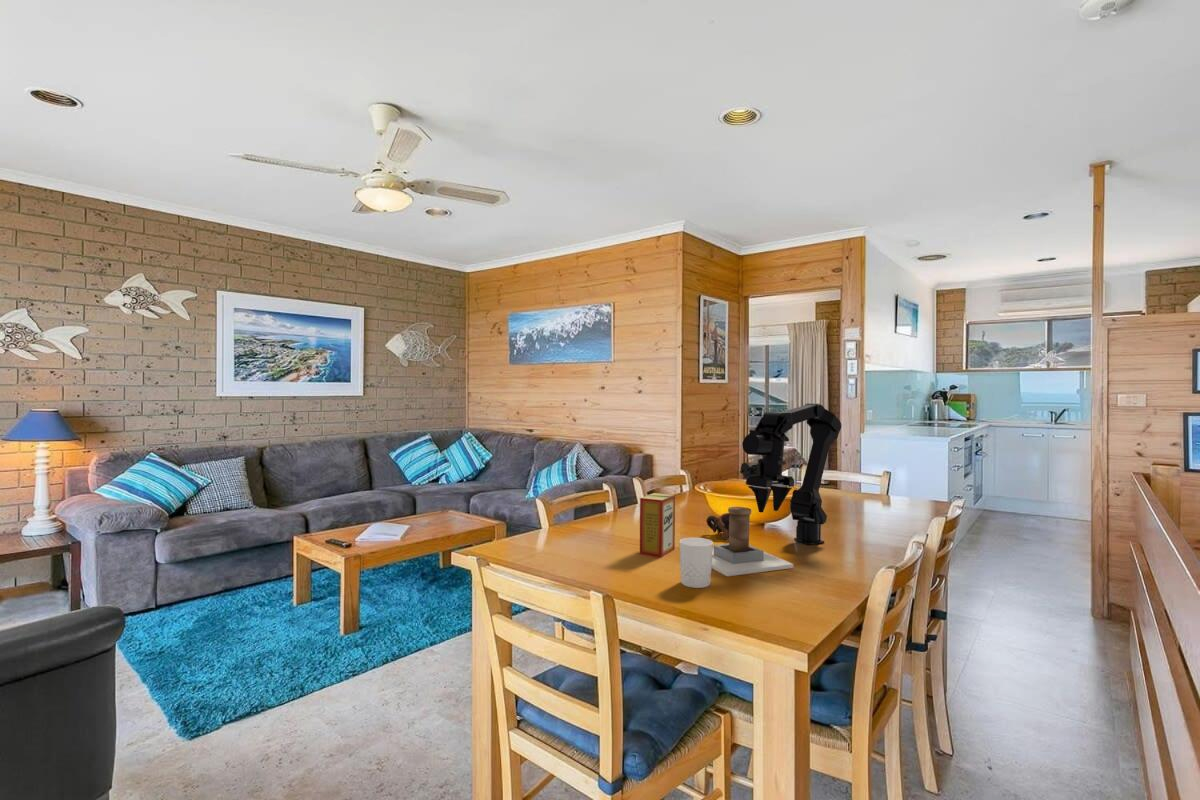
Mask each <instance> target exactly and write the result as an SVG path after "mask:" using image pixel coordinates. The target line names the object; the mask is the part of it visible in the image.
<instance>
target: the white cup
mask: <svg viewBox="0 0 1200 800" xmlns="http://www.w3.org/2000/svg"><path fill="white" fill-rule="evenodd" d="M678 542H679V548H678V549H679V567H680V579H681V580H680V581H681V582H680V583H681V584H682V585H683V586H685V587H687V588H694V589H702V588H708V587H709V586H711V585H710V584H711V574H712V552H713V549H714V542H713V540H711V539H708V538H703V537H684V538H681V539H679V541H678Z"/></svg>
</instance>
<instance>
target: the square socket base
mask: <svg viewBox="0 0 1200 800" xmlns="http://www.w3.org/2000/svg"><path fill="white" fill-rule="evenodd" d="M788 569H794V563H792V562H790V561H788V560H785V559H782V558H780V557H777V556H775V555H772V554H770V553H767V552H766V551H764V550H762V549H760V548H757V547H755V546H752V545H750V544H749V551H747V552H738V553H734V552H732V551H729V543H725V544H713V552H712V568H711V570H714V571H716V572H717V573H719V574H721V575H723V576H725V577H732V576H733V577H734V576H741V575H747V574H748V575H749V574H758V573H764V572H772V571H779V570H788Z"/></svg>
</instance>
